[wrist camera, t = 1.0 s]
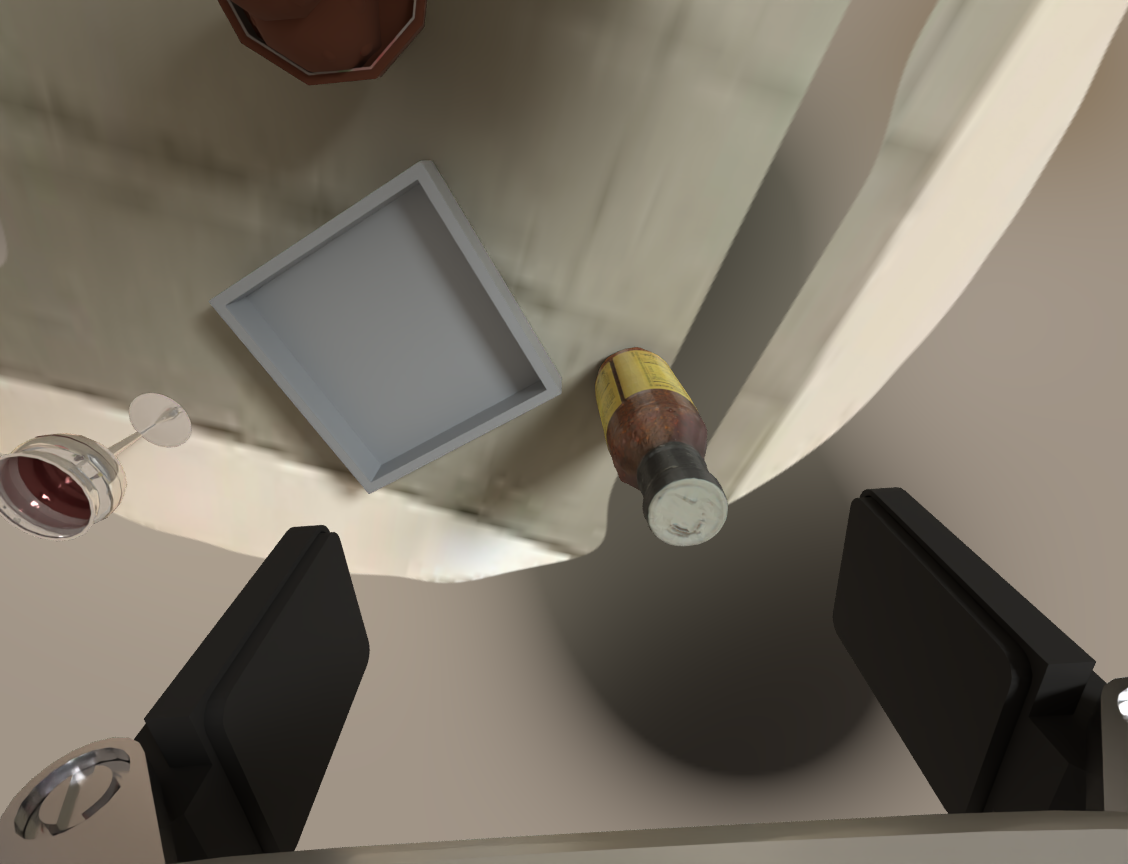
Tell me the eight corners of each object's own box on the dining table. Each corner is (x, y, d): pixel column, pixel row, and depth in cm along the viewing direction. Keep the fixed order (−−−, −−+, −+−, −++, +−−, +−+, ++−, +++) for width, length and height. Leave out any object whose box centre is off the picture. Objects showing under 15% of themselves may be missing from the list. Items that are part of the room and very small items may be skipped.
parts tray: (432, 160, 38) (420, 160, 35) (561, 377, 45) (561, 393, 42) (234, 290, 42) (208, 301, 39) (381, 472, 49) (368, 494, 46)
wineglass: (218, 445, 48) (117, 528, 37) (148, 464, 49) (29, 551, 38) (173, 373, 45) (50, 440, 34) (99, 394, 46) (-44, 466, 35)
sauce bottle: (623, 429, 47) (660, 593, 29) (578, 374, 45) (588, 514, 27) (689, 384, 45) (771, 528, 28) (645, 324, 43) (703, 439, 25)
